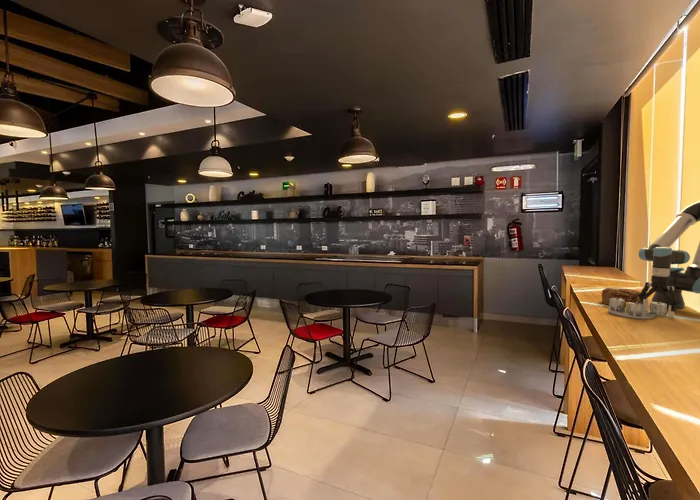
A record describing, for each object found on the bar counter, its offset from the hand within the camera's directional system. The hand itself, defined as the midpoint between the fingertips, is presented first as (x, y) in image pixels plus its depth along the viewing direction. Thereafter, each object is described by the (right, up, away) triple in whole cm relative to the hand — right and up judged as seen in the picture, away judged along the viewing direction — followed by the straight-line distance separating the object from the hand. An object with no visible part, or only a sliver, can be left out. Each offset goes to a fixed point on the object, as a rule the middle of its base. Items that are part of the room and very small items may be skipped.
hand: (657, 313), depth 197 cm
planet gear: (0, 0, 0) cm, 0 cm away
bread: (-4, +2, +21) cm, 22 cm away
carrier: (-15, 0, 0) cm, 15 cm away
